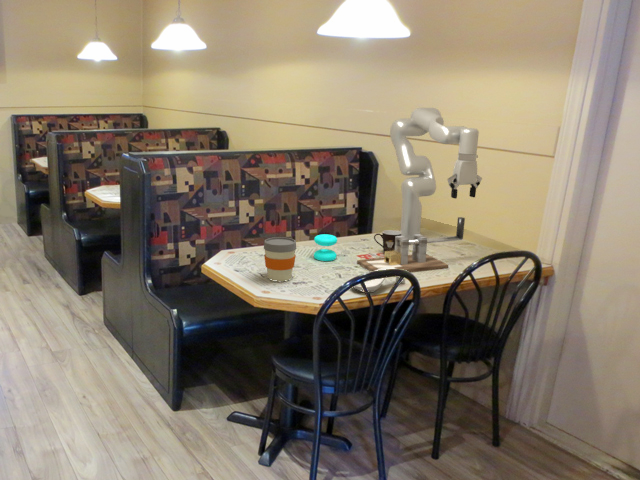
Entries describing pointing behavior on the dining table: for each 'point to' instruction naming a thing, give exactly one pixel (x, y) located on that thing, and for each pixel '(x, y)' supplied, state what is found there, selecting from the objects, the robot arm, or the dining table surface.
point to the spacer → (392, 257)
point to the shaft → (443, 239)
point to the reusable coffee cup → (279, 257)
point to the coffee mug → (388, 239)
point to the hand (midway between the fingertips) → (463, 197)
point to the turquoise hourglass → (325, 253)
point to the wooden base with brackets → (407, 257)
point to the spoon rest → (376, 282)
